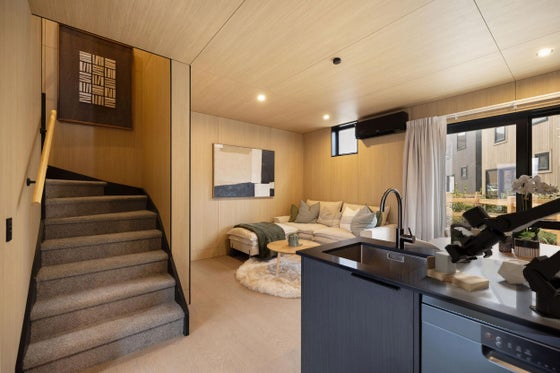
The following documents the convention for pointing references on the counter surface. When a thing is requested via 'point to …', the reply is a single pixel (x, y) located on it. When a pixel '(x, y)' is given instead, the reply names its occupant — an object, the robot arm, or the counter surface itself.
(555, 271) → the robot arm
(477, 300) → the counter surface
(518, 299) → the counter surface
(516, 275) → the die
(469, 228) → the coffee jar
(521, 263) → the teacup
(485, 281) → the trap box
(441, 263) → the gray block
